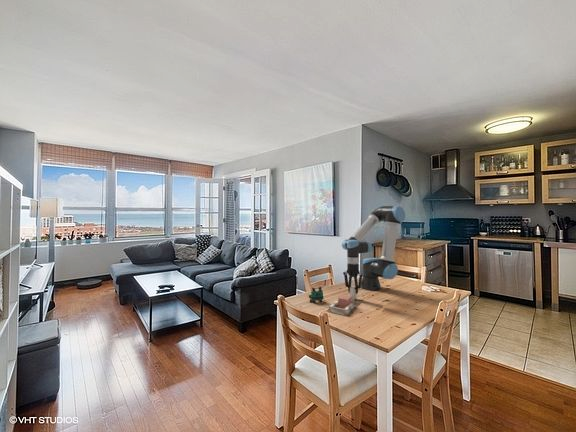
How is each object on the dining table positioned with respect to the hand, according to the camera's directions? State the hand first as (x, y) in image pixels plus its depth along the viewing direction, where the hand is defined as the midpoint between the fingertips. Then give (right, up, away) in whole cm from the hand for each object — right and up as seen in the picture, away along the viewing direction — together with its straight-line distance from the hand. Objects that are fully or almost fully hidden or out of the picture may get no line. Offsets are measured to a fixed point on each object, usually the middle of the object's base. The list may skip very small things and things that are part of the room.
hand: (353, 297), depth 174 cm
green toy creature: (-26, -2, -3) cm, 26 cm away
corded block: (-5, -1, -8) cm, 9 cm away
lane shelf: (-8, -2, -12) cm, 14 cm away
